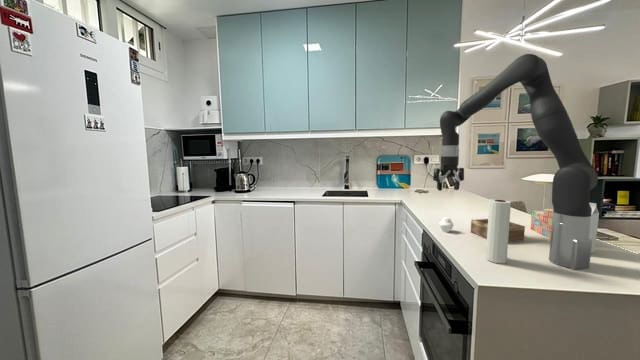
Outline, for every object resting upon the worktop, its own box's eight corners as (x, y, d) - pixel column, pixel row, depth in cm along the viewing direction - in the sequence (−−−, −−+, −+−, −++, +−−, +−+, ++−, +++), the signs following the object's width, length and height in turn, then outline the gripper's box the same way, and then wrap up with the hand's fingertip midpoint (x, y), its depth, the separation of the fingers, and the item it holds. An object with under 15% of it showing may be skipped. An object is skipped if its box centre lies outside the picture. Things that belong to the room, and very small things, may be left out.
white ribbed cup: (456, 231, 125) (456, 217, 124) (448, 234, 122) (448, 219, 121) (444, 228, 130) (444, 214, 130) (436, 230, 127) (436, 216, 126)
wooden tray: (523, 241, 113) (524, 226, 112) (495, 243, 110) (496, 228, 110) (496, 231, 126) (497, 218, 126) (470, 233, 124) (471, 219, 123)
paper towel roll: (507, 265, 88) (511, 202, 86) (485, 261, 92) (489, 201, 89) (505, 258, 95) (510, 199, 92) (485, 254, 98) (489, 197, 95)
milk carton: (586, 256, 96) (592, 204, 94) (561, 249, 102) (566, 201, 100) (594, 252, 99) (600, 202, 97) (570, 246, 105) (575, 199, 103)
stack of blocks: (529, 229, 129) (531, 204, 127) (544, 229, 128) (546, 204, 126) (560, 244, 108) (562, 215, 107) (577, 245, 107) (581, 215, 105)
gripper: (440, 155, 117) (439, 191, 119) (469, 155, 120) (467, 190, 121) (430, 155, 125) (429, 189, 126) (457, 155, 127) (456, 188, 129)
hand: (448, 190), depth 124 cm, fingers open, 8 cm apart
